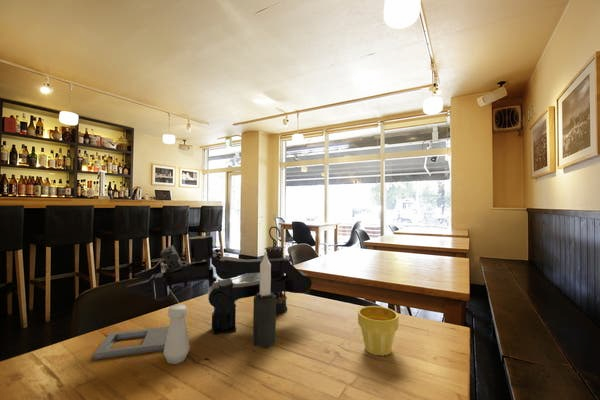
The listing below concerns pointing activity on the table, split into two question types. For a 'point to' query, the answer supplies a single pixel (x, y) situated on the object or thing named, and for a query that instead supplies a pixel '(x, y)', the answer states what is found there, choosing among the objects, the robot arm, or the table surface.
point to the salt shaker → (177, 335)
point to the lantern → (277, 274)
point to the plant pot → (378, 328)
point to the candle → (264, 309)
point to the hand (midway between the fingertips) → (130, 282)
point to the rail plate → (151, 343)
